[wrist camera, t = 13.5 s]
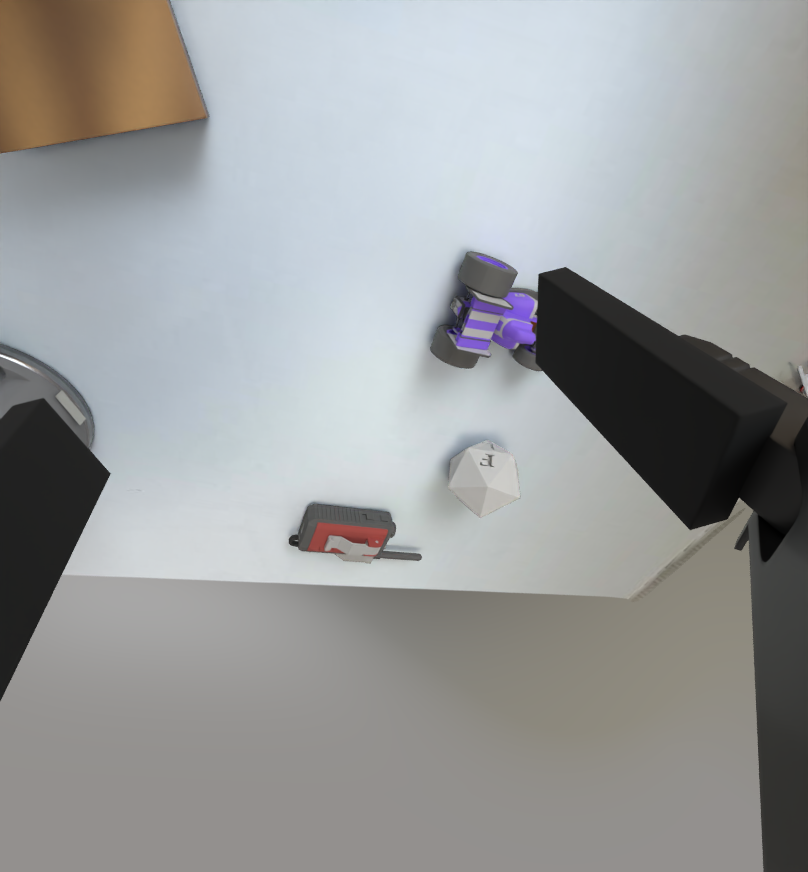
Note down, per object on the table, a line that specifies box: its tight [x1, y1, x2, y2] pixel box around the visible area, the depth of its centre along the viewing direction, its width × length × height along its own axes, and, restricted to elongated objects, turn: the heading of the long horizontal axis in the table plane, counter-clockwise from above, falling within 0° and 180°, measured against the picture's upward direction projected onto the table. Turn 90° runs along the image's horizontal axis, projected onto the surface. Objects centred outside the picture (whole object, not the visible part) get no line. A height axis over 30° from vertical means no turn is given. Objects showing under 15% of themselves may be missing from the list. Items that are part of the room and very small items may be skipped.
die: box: [448, 440, 520, 518], centre depth 52 cm, size 8×9×10 cm
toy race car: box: [430, 252, 543, 371], centre depth 41 cm, size 10×15×6 cm, turn 72°
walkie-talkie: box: [289, 504, 422, 563], centre depth 57 cm, size 9×4×20 cm
